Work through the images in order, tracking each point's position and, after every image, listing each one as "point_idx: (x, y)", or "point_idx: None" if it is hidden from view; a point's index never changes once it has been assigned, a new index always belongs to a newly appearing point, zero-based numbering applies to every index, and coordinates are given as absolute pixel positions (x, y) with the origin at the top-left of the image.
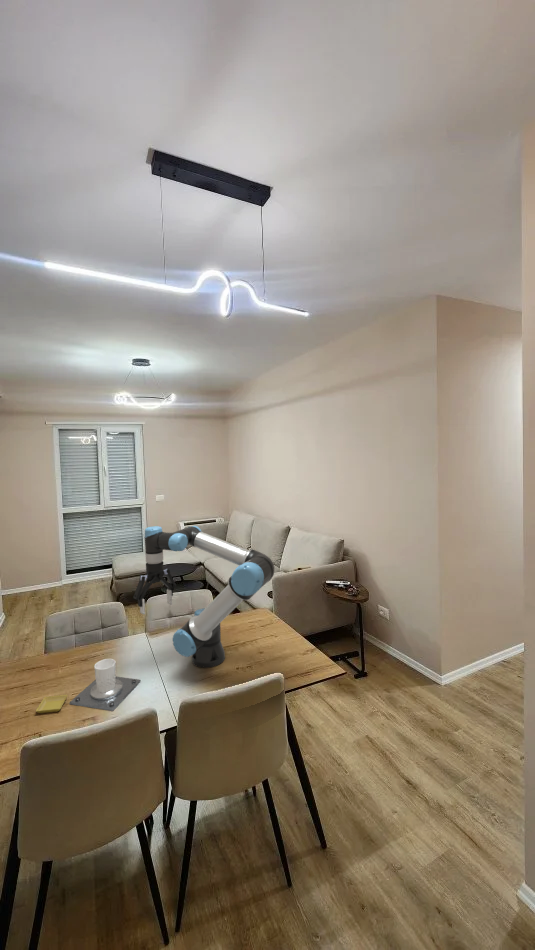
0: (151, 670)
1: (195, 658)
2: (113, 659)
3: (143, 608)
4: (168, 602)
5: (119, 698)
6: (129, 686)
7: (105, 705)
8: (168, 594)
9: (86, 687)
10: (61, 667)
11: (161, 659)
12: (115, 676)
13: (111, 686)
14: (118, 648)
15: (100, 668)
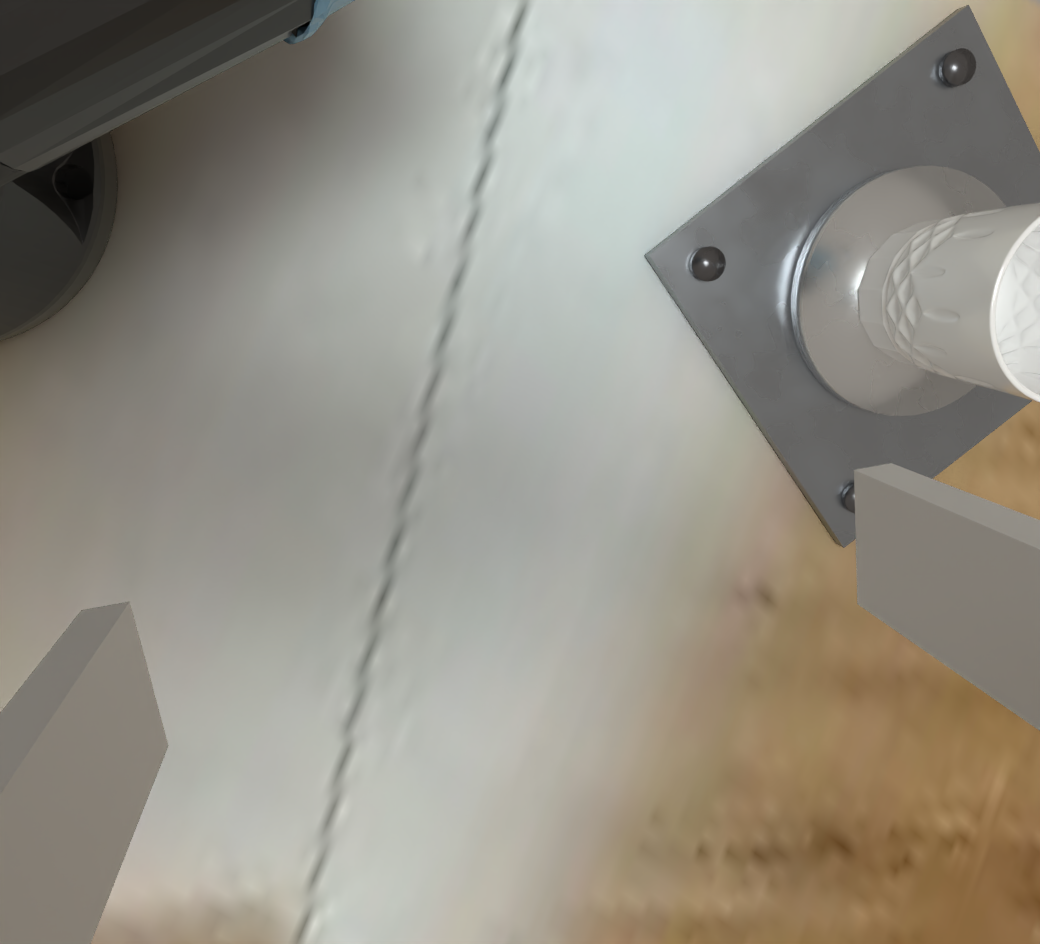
0: (502, 362)
1: (78, 157)
2: (994, 334)
3: (979, 501)
4: (143, 709)
5: (881, 108)
6: (758, 220)
7: (985, 97)
8: (60, 854)
9: (981, 439)
10: (976, 829)
11: (352, 483)
12: (910, 265)
13: (927, 224)
14: (578, 878)
15: (1032, 380)
